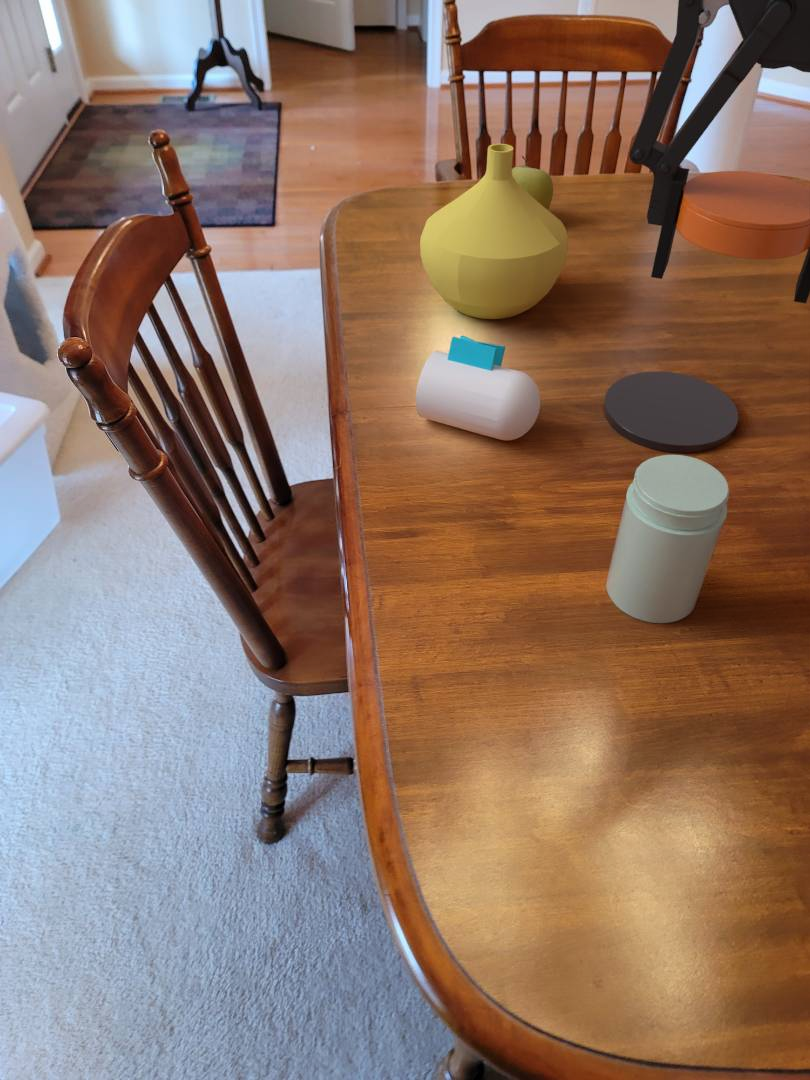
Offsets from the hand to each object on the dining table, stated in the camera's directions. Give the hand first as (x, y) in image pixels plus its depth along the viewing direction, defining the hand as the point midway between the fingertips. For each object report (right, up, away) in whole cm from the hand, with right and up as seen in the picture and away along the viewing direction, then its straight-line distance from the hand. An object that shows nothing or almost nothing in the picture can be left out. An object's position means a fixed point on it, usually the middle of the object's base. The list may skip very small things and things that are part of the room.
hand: (728, 281), depth 57 cm
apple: (-4, +31, +70) cm, 77 cm away
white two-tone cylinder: (-13, -5, +33) cm, 36 cm away
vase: (-11, +13, +52) cm, 55 cm away
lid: (0, +4, -4) cm, 5 cm away
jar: (-1, -22, +14) cm, 26 cm away
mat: (+6, -4, +33) cm, 34 cm away
